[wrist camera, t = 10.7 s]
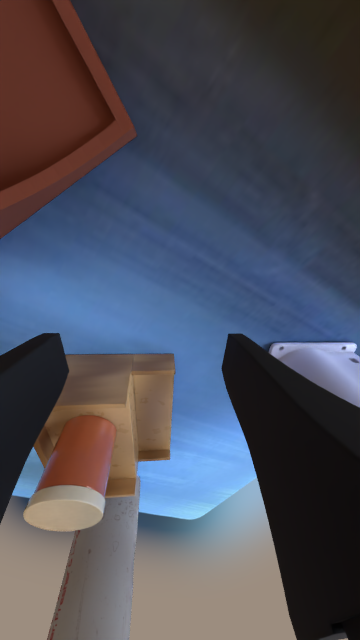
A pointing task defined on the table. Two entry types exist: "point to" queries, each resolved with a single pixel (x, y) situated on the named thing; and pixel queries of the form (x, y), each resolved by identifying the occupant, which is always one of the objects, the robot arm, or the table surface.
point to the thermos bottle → (100, 576)
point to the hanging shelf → (51, 107)
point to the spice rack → (118, 409)
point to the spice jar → (74, 477)
